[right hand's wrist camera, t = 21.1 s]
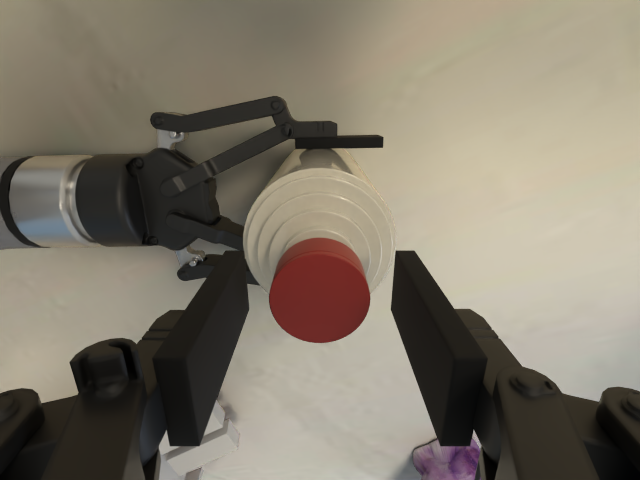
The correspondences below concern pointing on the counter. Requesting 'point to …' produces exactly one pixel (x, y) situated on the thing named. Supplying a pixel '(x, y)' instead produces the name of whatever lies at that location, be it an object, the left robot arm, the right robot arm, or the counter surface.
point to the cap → (319, 291)
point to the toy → (199, 449)
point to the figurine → (446, 461)
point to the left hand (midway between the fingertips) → (377, 196)
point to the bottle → (319, 214)
